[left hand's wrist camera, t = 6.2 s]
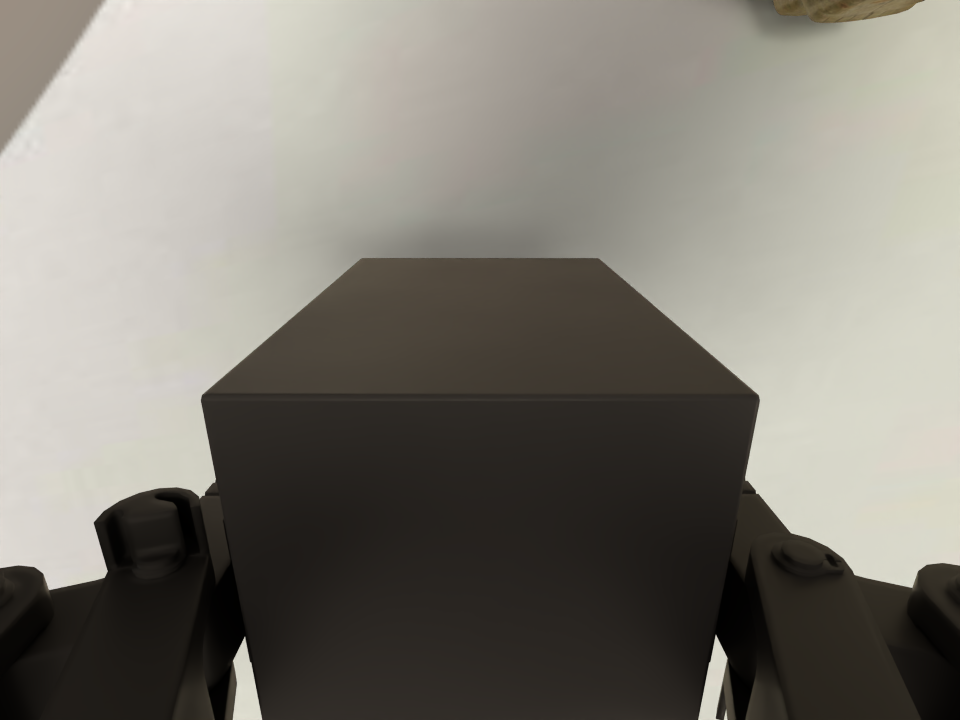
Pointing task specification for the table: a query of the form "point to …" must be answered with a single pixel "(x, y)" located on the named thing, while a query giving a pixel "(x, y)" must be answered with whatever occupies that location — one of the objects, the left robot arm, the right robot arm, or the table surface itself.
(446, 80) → the table surface
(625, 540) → the bar
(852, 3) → the sculpture
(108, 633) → the left robot arm
